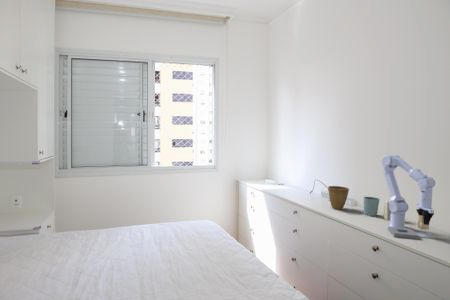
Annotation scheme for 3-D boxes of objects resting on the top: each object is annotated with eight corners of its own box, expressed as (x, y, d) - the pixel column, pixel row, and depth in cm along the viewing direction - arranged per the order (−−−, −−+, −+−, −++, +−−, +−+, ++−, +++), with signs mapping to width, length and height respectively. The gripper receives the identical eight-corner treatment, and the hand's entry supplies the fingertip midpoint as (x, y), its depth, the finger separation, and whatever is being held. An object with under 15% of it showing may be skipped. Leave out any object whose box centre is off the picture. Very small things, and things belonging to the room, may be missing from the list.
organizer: (388, 229, 188) (388, 226, 188) (410, 232, 185) (410, 228, 185) (394, 236, 174) (394, 233, 174) (418, 239, 171) (419, 235, 171)
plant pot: (323, 208, 242) (324, 187, 241) (333, 205, 252) (334, 185, 251) (341, 211, 231) (342, 189, 230) (351, 209, 241) (352, 188, 240)
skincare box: (392, 218, 216) (393, 200, 215) (395, 220, 211) (396, 202, 211) (383, 218, 215) (384, 200, 215) (386, 220, 211) (387, 201, 210)
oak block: (417, 227, 181) (418, 215, 181) (425, 227, 180) (425, 215, 180) (421, 229, 177) (421, 216, 177) (428, 229, 176) (429, 217, 176)
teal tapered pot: (359, 213, 227) (360, 197, 226) (369, 212, 231) (370, 196, 231) (372, 217, 218) (372, 199, 217) (381, 216, 222) (382, 198, 222)
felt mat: (412, 232, 184) (412, 231, 184) (429, 234, 182) (429, 233, 182) (417, 237, 176) (417, 235, 176) (435, 238, 173) (435, 237, 173)
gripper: (412, 196, 186) (410, 219, 186) (424, 201, 171) (423, 226, 172) (425, 197, 185) (423, 220, 185) (438, 202, 170) (437, 227, 171)
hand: (424, 223), depth 179 cm, fingers closed on oak block, 4 cm apart
